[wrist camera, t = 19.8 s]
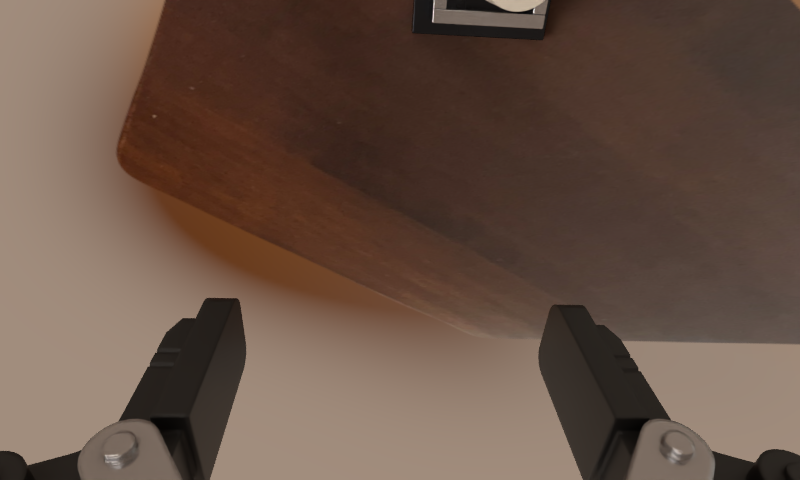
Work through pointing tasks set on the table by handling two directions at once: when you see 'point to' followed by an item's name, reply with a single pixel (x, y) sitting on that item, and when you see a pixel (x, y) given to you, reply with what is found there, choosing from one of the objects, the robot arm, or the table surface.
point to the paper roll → (516, 4)
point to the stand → (478, 19)
